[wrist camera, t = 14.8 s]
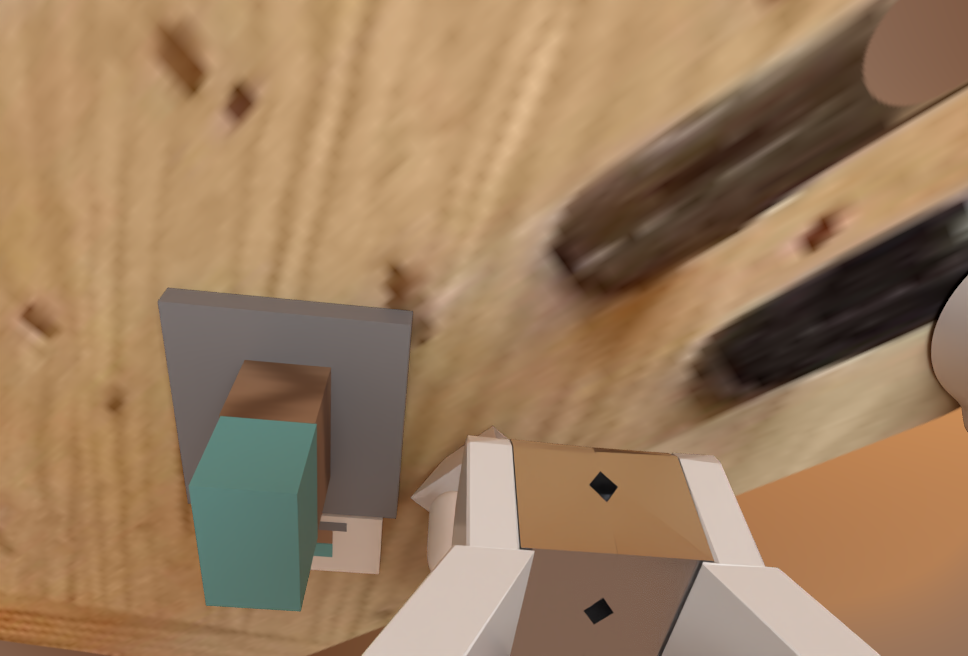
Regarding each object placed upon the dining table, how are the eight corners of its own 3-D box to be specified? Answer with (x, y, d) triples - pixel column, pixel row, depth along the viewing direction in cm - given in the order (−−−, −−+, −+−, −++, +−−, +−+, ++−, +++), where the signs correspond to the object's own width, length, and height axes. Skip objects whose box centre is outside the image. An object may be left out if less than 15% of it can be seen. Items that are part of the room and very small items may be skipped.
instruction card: (382, 515, 51) (382, 520, 50) (379, 569, 54) (378, 575, 54) (212, 503, 50) (209, 508, 49) (218, 559, 53) (217, 564, 53)
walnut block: (331, 367, 42) (315, 423, 38) (330, 477, 47) (316, 537, 42) (244, 359, 41) (218, 415, 37) (253, 471, 46) (231, 531, 42)
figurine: (483, 391, 45) (488, 596, 32) (574, 471, 49) (609, 682, 36) (402, 448, 47) (377, 658, 35) (494, 520, 51) (502, 732, 39)
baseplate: (412, 311, 41) (411, 325, 40) (397, 502, 50) (396, 518, 49) (167, 287, 40) (157, 301, 39) (195, 487, 49) (188, 503, 48)
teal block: (316, 424, 38) (297, 493, 33) (317, 537, 42) (300, 611, 38) (220, 415, 37) (188, 485, 33) (232, 531, 42) (206, 605, 38)
